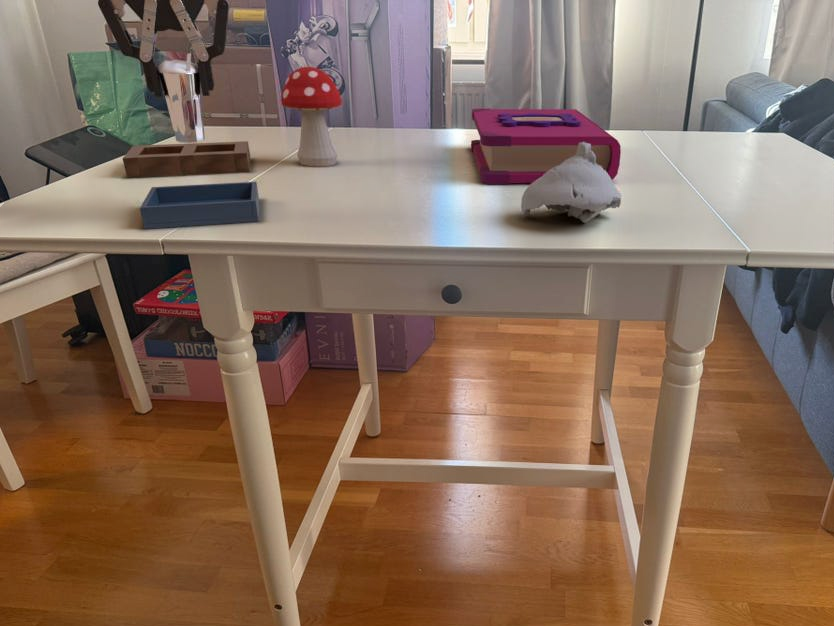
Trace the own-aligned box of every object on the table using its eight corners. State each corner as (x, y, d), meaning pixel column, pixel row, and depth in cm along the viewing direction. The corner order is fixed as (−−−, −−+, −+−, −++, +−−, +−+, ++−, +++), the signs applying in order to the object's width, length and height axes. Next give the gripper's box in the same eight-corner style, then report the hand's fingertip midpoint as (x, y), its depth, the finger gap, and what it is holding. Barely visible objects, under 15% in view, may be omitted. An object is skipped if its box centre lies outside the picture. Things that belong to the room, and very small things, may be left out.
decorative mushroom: (356, 160, 116) (348, 65, 109) (333, 170, 109) (323, 70, 102) (304, 156, 118) (293, 63, 111) (278, 166, 111) (265, 68, 104)
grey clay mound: (563, 222, 94) (584, 144, 91) (629, 243, 86) (655, 159, 83) (501, 211, 86) (522, 126, 83) (568, 234, 78) (594, 140, 75)
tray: (144, 229, 81) (139, 207, 80) (156, 206, 90) (151, 187, 88) (258, 221, 84) (255, 200, 83) (259, 200, 93) (256, 181, 91)
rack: (126, 178, 103) (122, 158, 102) (137, 164, 112) (133, 145, 110) (249, 172, 107) (246, 152, 106) (250, 159, 116) (247, 141, 114)
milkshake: (184, 146, 79) (169, 54, 75) (164, 139, 83) (147, 50, 78) (220, 142, 82) (207, 52, 78) (199, 135, 86) (185, 49, 81)
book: (581, 147, 128) (584, 105, 124) (617, 183, 103) (623, 131, 99) (470, 148, 126) (470, 105, 123) (481, 184, 102) (481, 132, 98)
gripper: (223, -69, 77) (246, 90, 85) (85, -74, 73) (123, 93, 81) (220, -75, 70) (245, 98, 79) (68, -80, 67) (111, 101, 75)
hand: (183, 95), depth 80 cm, fingers closed on milkshake, 4 cm apart
